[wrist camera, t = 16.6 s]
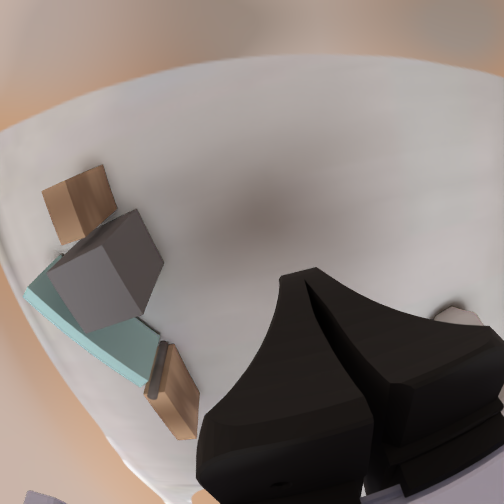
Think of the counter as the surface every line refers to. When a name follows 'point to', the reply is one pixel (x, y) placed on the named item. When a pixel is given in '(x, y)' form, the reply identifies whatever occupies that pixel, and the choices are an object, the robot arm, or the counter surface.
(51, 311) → the door
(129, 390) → the counter surface
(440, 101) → the counter surface
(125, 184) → the counter surface
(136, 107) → the counter surface
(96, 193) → the wall
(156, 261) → the block
